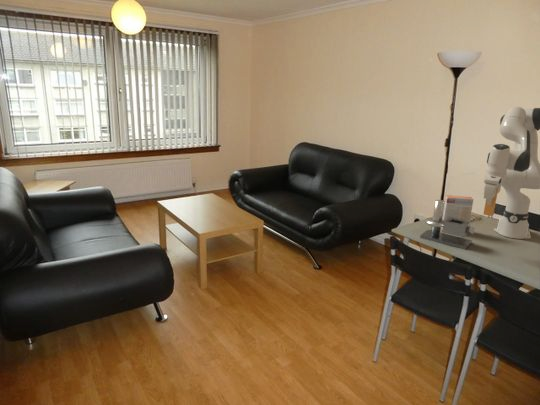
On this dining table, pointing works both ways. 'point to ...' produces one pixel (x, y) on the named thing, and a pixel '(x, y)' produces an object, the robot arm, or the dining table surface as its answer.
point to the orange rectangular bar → (490, 206)
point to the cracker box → (457, 208)
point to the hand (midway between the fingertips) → (490, 203)
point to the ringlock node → (447, 228)
